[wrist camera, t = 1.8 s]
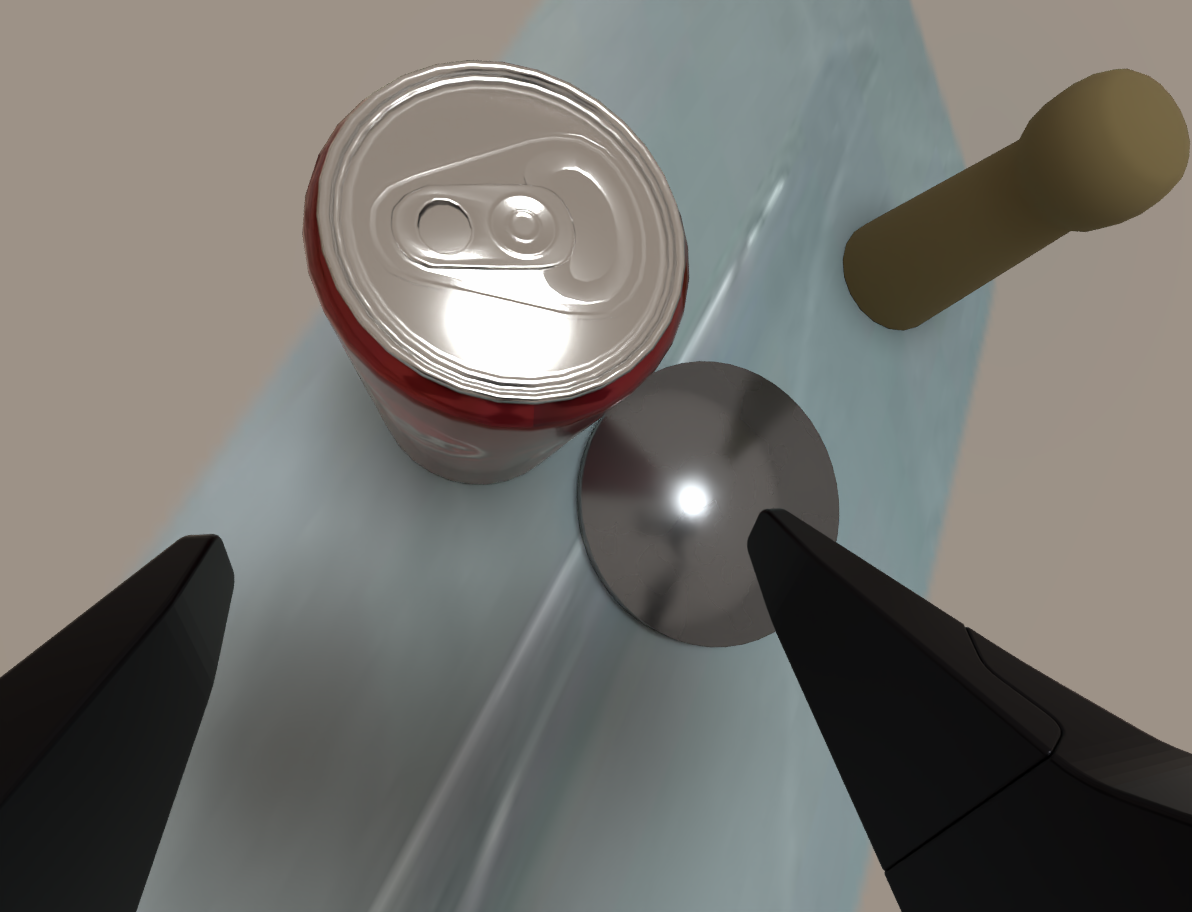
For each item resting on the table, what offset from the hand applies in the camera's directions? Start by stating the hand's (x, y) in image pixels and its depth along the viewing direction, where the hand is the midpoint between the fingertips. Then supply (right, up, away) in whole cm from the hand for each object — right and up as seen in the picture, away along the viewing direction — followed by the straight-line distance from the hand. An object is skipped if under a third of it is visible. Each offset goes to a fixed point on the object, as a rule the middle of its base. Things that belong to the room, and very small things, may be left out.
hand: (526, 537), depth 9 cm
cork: (+17, +11, +19) cm, 27 cm away
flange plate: (+6, -1, +14) cm, 15 cm away
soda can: (-3, +4, +12) cm, 13 cm away
